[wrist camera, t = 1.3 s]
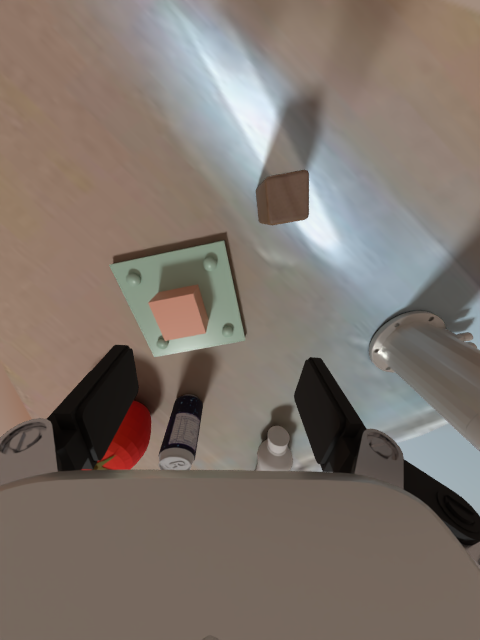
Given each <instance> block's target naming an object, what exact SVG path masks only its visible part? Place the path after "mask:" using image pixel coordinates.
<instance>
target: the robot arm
mask: <svg viewBox="0 0 480 640" xmlns="http://www.w3.org/2000/svg"><path fill="white" fill-rule="evenodd" d="M472 339H473V335H472V334H471V333H468V332H466V333H460V334H457V335H456V334H454V333H452V332H450V331H448V330H446V326H445V324H444V322H443V320H442V319H441V318H440V317H438V316H436V315H434V314H432V313H430V312H426V311H412V312H407V313H404V314H401V315H399V316H397V317H395V318H393V319H391V320H390V321H388V322H387V323H386V324H384V325H383V326H382V327H381V328H380V329H379V330H378V331H377V333H376V334H375V335H374V337H373V338H372V341H371V343H370V346H369V356H370V359H371V361H372V362H373V363H374V364H375V365H376V366H377V367H378V368H379V369H381V370H383V371H386V372H396V373H397V374H398V375H399V376H400V377H401V378H402V379H403V380H404V381H405V382H406V383H407V384H408V385H409V386H410V387H411V388H413V389H414V390H415V391H416V392H417V393H418V394H419V395H420V396H421V397H422V398H423V399H424V400H425V401H426V402H427V403H428V404H430V405H431V406H432V407H433V408H434V409H435V410H436V411H437V412H438V413H439V414H440V415H441V416H442V417H443V418H444V419H445V420H446V421H448V422H449V423H450V424H451V425H452V426H453V427H454V428H455V429H456V430H457V431H458V432H459V433H460V434H461V435H462V436H463V437H465V438H466V439H467V440H468V441H469V442H470V443H471V444H472V445H473V446H474V447H475V448H476V449H477V450H479V451H480V350H478V349H477V346H476V345H475V344H474V343H472V342H464V341H470V340H472ZM137 392H138V380H137V374H136V368H135V362H134V356H133V350H132V349H130V348H129V346H127V345H114V346H113V347H112V349H111V350H110V351H109V352H108V353H107V354H106V355H105V356H104V357H103V359H102V360H101V361H100V362H99V363H98V364H97V365H96V366H95V367H94V368H93V370H92V371H90V372H89V373H88V374H87V375H86V376H85V377H84V378H83V380H82V381H81V382H80V383H79V384H78V385H77V386H76V387H75V388H74V389H73V391H72V392H71V393H70V394H69V395H68V396H67V397H66V398H65V399H64V400H63V402H62V403H61V404H60V405H59V406H58V407H57V408H56V409H55V410H54V411H53V413H52V414H51V415H50V416H49V417H48V418H47V419H43V418H38V419H32V420H29V421H26V422H23V423H21V424H19V425H17V426H15V427H14V428H12V429H10V430H9V431H7V432H6V433H5V434H4V435H3V436H1V437H0V640H480V516H479V515H478V514H477V513H476V511H475V510H474V509H473V508H472V506H470V504H468V503H467V502H466V501H465V500H464V499H463V498H462V497H460V496H459V495H458V494H456V493H455V492H454V491H452V490H450V489H449V488H447V487H446V486H444V485H443V484H441V483H440V482H438V481H436V480H435V479H433V478H432V477H430V476H429V475H427V474H426V473H424V472H423V471H421V470H419V469H418V468H416V467H415V466H413V465H412V464H410V463H409V462H407V461H406V460H404V459H403V453H402V451H401V449H400V447H399V446H398V445H397V444H396V442H395V441H394V440H393V439H392V438H390V437H389V436H388V435H386V434H385V433H383V432H381V431H379V430H375V429H366V427H365V426H364V424H363V422H362V421H361V419H360V418H359V416H358V415H357V413H356V412H355V410H354V408H353V407H352V405H351V404H350V402H349V401H348V399H347V398H346V396H345V394H344V393H343V391H342V390H341V388H340V387H339V385H338V384H337V382H336V381H335V379H334V377H333V376H332V374H331V373H330V371H329V370H328V368H327V367H326V365H325V363H324V362H323V360H322V359H321V358H312V357H310V358H309V359H308V360H306V361H305V364H304V367H303V370H302V373H301V376H300V379H299V382H298V385H297V388H296V391H295V394H294V399H295V402H296V405H297V408H298V411H299V414H300V417H301V419H302V422H303V425H304V428H305V431H306V434H307V436H308V439H309V442H310V445H311V448H312V450H313V453H314V456H315V459H316V461H317V463H318V464H320V465H321V468H322V470H323V472H307V471H244V470H81V469H94V467H95V465H96V463H97V461H100V460H102V459H103V457H104V455H105V453H106V452H107V450H108V448H109V446H110V444H111V442H112V440H113V438H114V436H115V434H116V433H117V431H118V429H119V427H120V425H121V423H122V421H123V419H124V417H125V415H126V414H127V412H128V410H129V408H130V406H131V404H132V402H133V400H134V398H135V397H136V395H137Z"/></svg>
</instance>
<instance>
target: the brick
mask: <svg viewBox="0 0 480 640" xmlns="http://www.w3.org/2000/svg"><path fill="white" fill-rule="evenodd" d="M148 304H149V306H150V308H151V311H152V313H153V315H154V317H155V320H156V322H157V324H158V326H159V329H160V331H161V333H162V336H163V338H164V340H165V341H168V340H173V339H178V338H184V337H189V336H194V335H200V334H205V333H206V331H207V326H208V322H209V319H208V316H207V313H206V309H205V306H204V303H203V299H202V296H201V293H200V289H199V286H198V284H197V285H192V286H187V287H182V288H177V289H172V290H167V291H162V292H158V293H157V294H156V295H155V296H154V297H153V298H152V299H151V300H150V301H149V302H148Z"/></svg>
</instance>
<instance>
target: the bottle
mask: <svg viewBox="0 0 480 640" xmlns="http://www.w3.org/2000/svg"><path fill="white" fill-rule="evenodd" d="M289 438H290V437H289V434H288V432H287V431H286V430H285V429H284V428H283V427H280V426H273V427H271V428H270V429H269V430H268V439H267V440H265V441H264V442H262V444H261V445H260V446H259V448H258V452H257V455H258V463H257V468H256V471H290V469H291V468H292V463H293V458H292V454H291V451H290V449H289V448H288V446H287V445H288V443H289Z"/></svg>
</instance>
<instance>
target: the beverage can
mask: <svg viewBox="0 0 480 640" xmlns="http://www.w3.org/2000/svg"><path fill="white" fill-rule="evenodd" d="M202 409H203V403H202V402H201V400H200V399H199V398H198V397H196V396H194V395H190V394H188V395H184V396H181V397H179V398H178V399H177V400H176V401H175V403H174V407H173V410H172V413H171V416H170V420H169V423H168V426H167V429H166V433H165V436H164V439H163V442H162V446H161V449H160V452H159V468H160V469H161V470H190V468H191V465H192V463H193V461H194V460H195V455H196V448H197V442H198V435H199V429H200V422H201V415H202Z"/></svg>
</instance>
